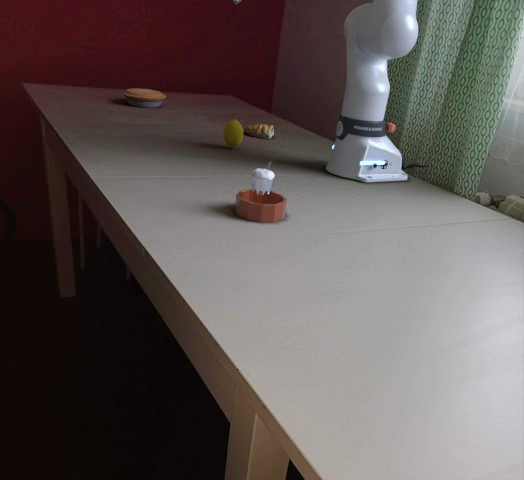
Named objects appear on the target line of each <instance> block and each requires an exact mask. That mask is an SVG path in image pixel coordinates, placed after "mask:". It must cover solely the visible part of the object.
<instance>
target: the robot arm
mask: <svg viewBox="0 0 524 480" xmlns="http://www.w3.org/2000/svg"><path fill="white" fill-rule="evenodd" d="M232 1H233V4H234V5H238V4H239V3H240V2H241V1H242V0H232ZM417 8H418V0H372V2H366V3H363V4H361V5H359V6H356V7H355V8H354V9H352V10H351V11H350V12H349V13H348V15H347V16H346V18H345V21H344V24H343V37H344V40H345V44H346V45H345V47H346V51H345V52H346V78H345V88H344V92H343V93H344V94H343V100H342V107H341V112H340V114H339V115H338V120H337V125H336V132H335V141H334V144H333V145H332V148H331V149H332V151H331V154H330V156H329V160H328V162H327V164H326V166H325V170H326V171H327V172H328V173H330V174H333V175H335V176H339V177H341V178H346V179H351V180H354V181H355V180H356V181H358V182H362V183H384V182H385V183H386V182H401V181H408V177H409V176H408V174H407V173H406V172H405V171H404V170H402V169H406V168H407V167H414V168H427V167H429V166H426V165H418V164H419V163H417V162H412V161H411V162H405V158H404V156H403V155H402V150H399V149H398V148H397V147H396V146H395V144H394V143H393V142H392V141H391V139H390V138H389V137H388V136H387V134H388V133H387V132H389V133H395V132H394V131H396V124H394V123H392V122H387V121H386V120H385V113H386V110H387V106H388V100H389V96H390V91H391V85H390V80H389V77H388V61H391V60H396V59H400V58H403V57H404V56H406V55H408V54H409V53H410V52H411V51H412V49H413V48H414V47H415V45H416V43H417V41H418V37H419V23H418V20H417V10H418V9H417Z"/></svg>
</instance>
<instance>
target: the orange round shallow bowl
mask: <svg viewBox="0 0 524 480" xmlns="http://www.w3.org/2000/svg"><path fill="white" fill-rule="evenodd" d="M251 201H252V188H248V189H243V190H240V191H238V192H237V193H236V195H235V206H234V207H235V208H234V212H235V213H236V215H237V216H238V217H239V218H243V219H245V220H247V221H252V222H256V223H275V222H278V221H282V220H283V219H284V218H285V215H286V208H287V202H288V201H287V197H285V196H284V195H283V194H281V193H278V192H276V191H273V190H272V191H271V196H270V202H269V204H258V203H253V202H251Z"/></svg>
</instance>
